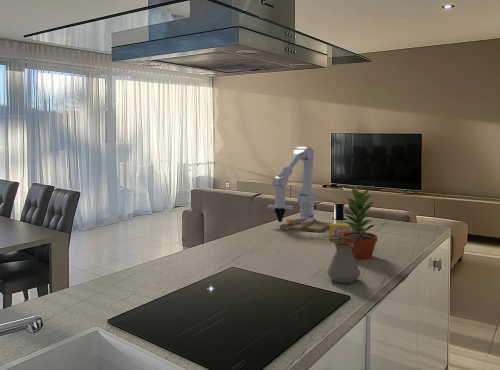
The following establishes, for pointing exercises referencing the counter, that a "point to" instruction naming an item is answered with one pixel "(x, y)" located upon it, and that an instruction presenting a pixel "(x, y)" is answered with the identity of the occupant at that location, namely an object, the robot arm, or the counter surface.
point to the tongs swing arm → (296, 220)
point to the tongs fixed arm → (307, 221)
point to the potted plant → (360, 227)
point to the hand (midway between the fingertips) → (280, 221)
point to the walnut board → (312, 227)
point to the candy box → (338, 231)
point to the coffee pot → (344, 263)
